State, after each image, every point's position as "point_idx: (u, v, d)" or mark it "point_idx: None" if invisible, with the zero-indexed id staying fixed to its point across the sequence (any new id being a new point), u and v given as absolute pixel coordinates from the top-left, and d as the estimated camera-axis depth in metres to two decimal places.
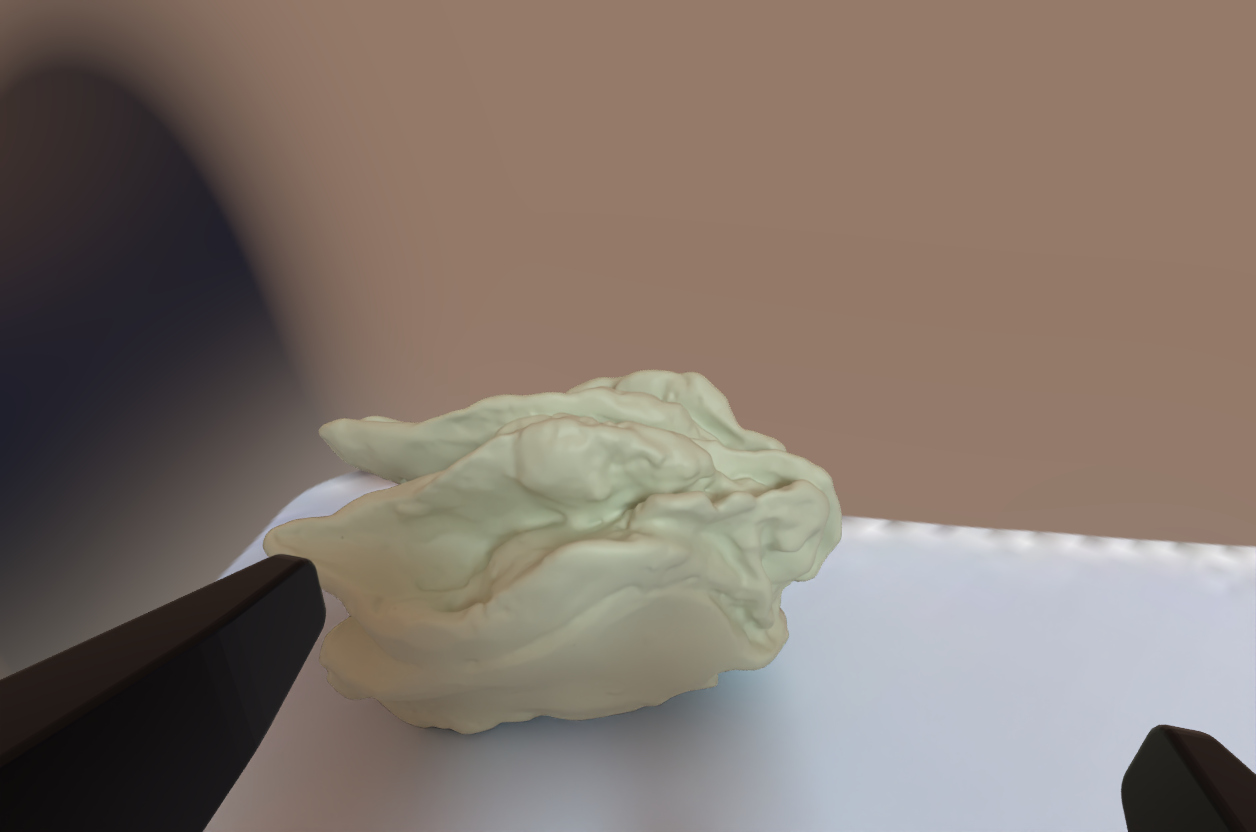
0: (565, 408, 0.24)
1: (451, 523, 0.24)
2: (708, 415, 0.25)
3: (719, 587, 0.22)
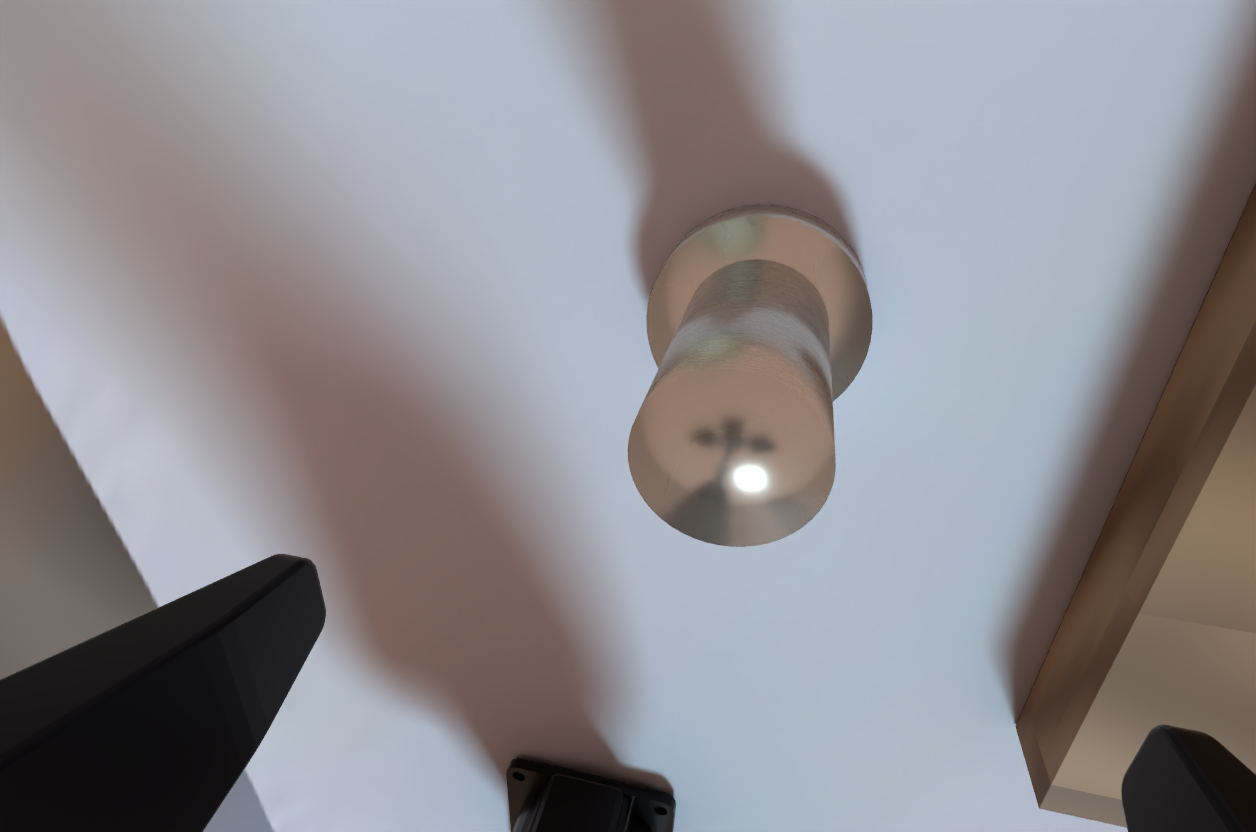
0: None
1: None
2: None
3: None
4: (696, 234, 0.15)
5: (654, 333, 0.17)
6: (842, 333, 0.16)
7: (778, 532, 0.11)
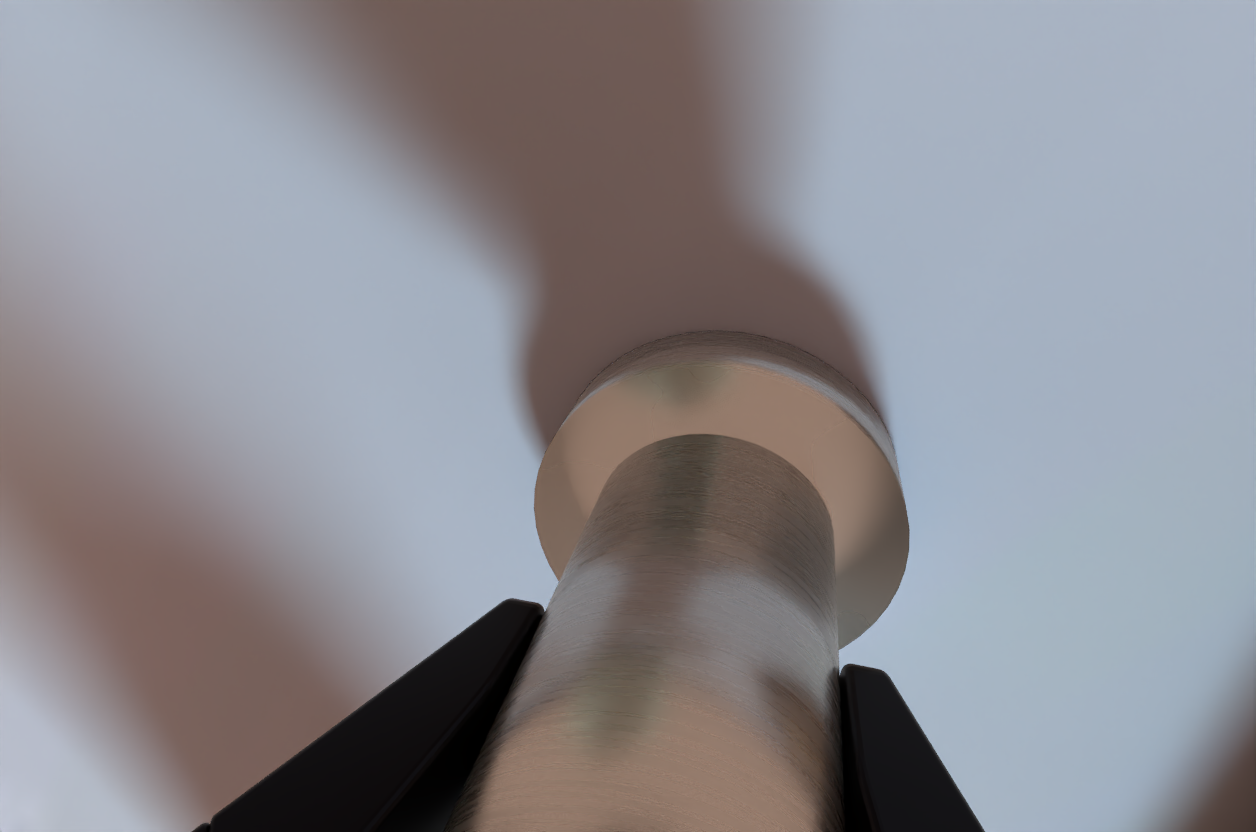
0: None
1: None
2: None
3: None
4: (606, 389, 0.09)
5: (548, 532, 0.10)
6: (857, 554, 0.09)
7: None
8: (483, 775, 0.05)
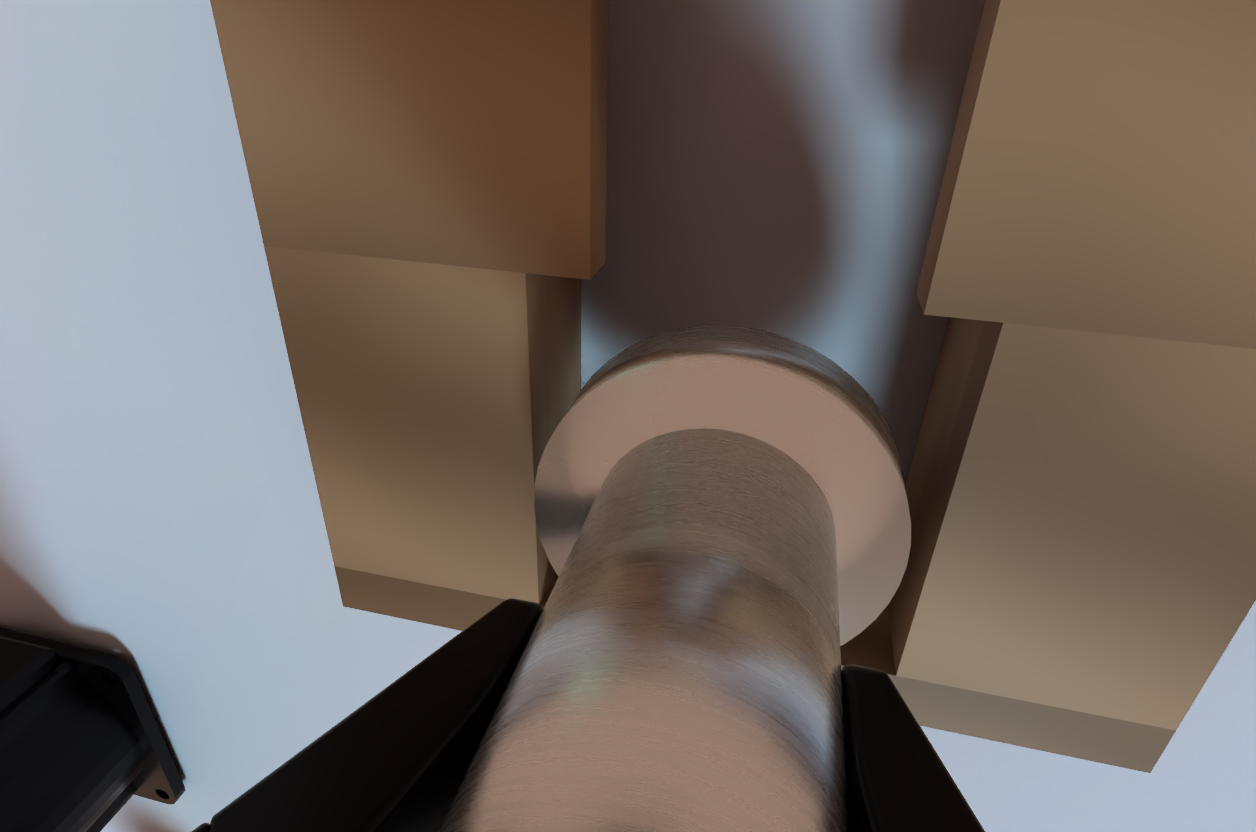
0: None
1: None
2: None
3: None
4: (606, 383, 0.09)
5: (548, 527, 0.10)
6: (858, 549, 0.09)
7: None
8: (482, 769, 0.05)
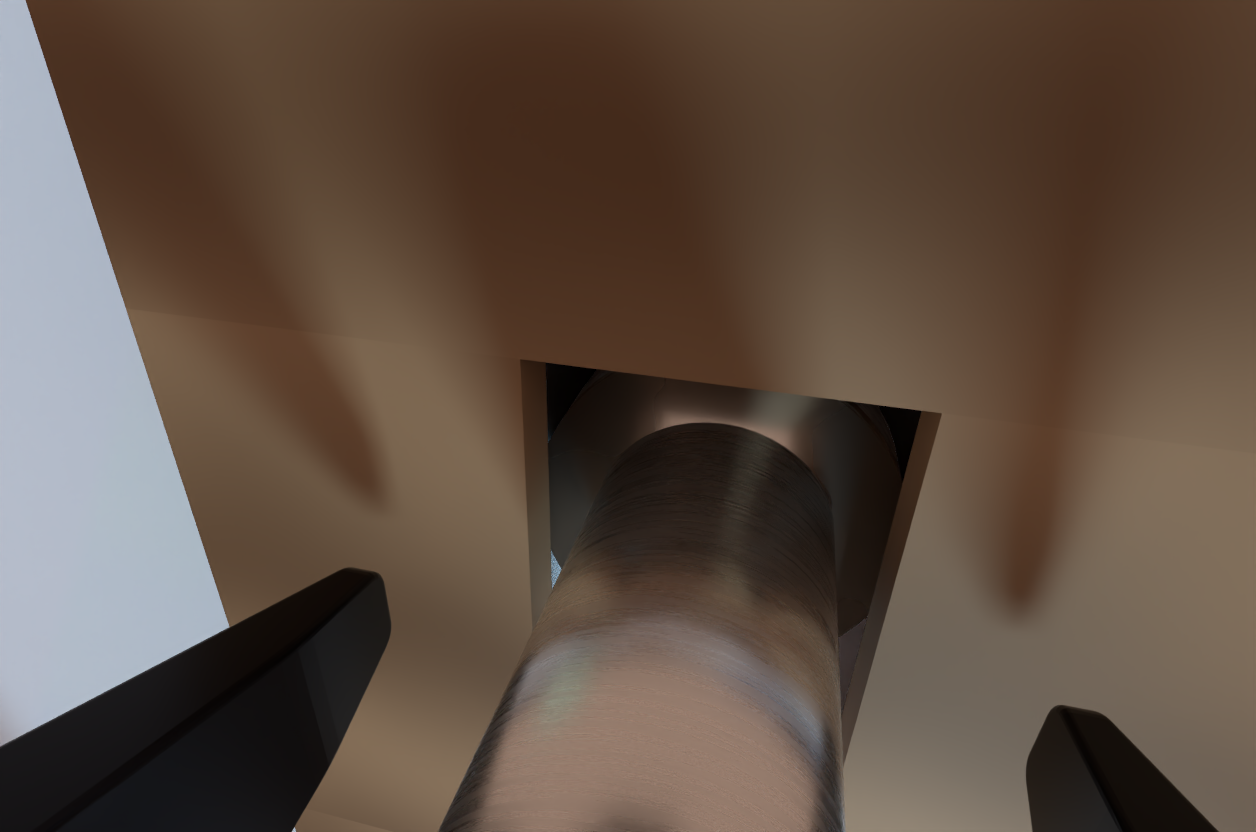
0: None
1: None
2: None
3: None
4: (609, 378, 0.09)
5: (552, 520, 0.10)
6: (856, 541, 0.09)
7: None
8: (491, 747, 0.05)
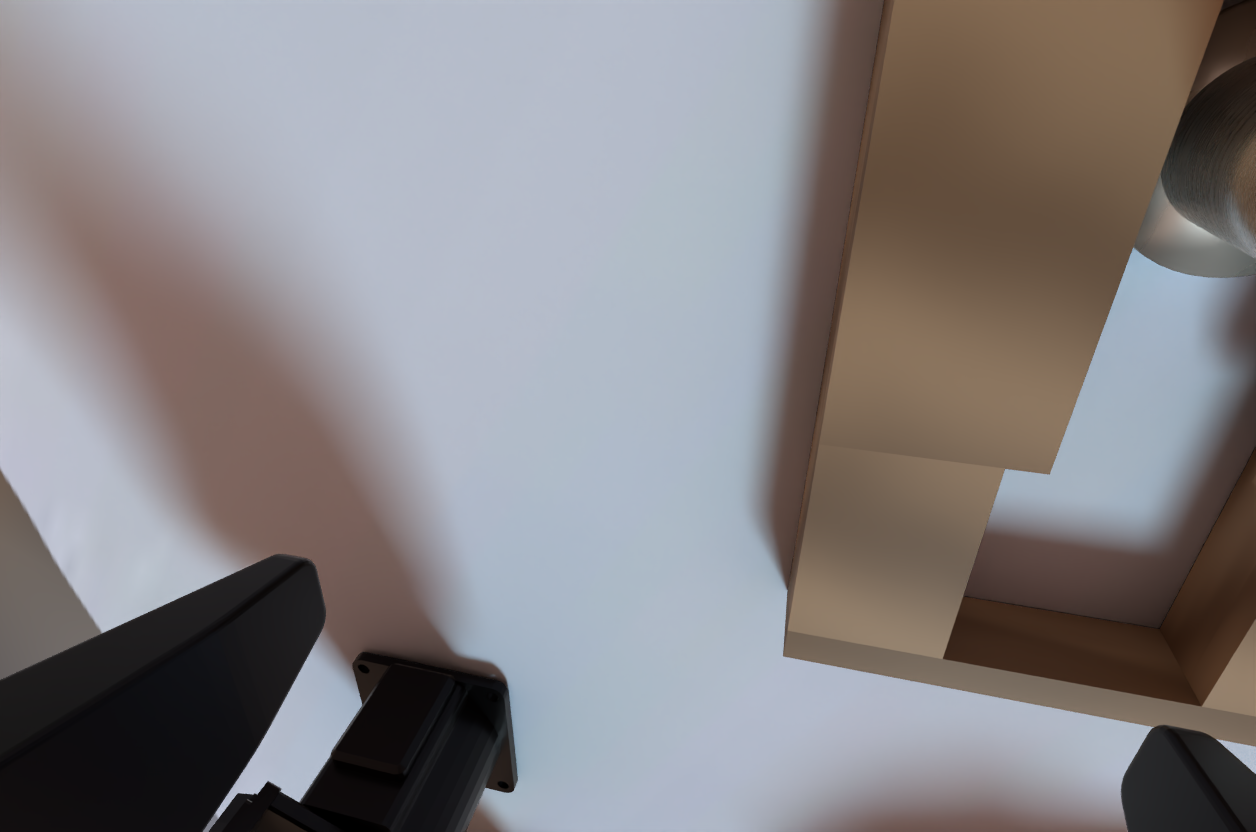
0: None
1: None
2: None
3: None
4: None
5: None
6: None
7: None
8: None
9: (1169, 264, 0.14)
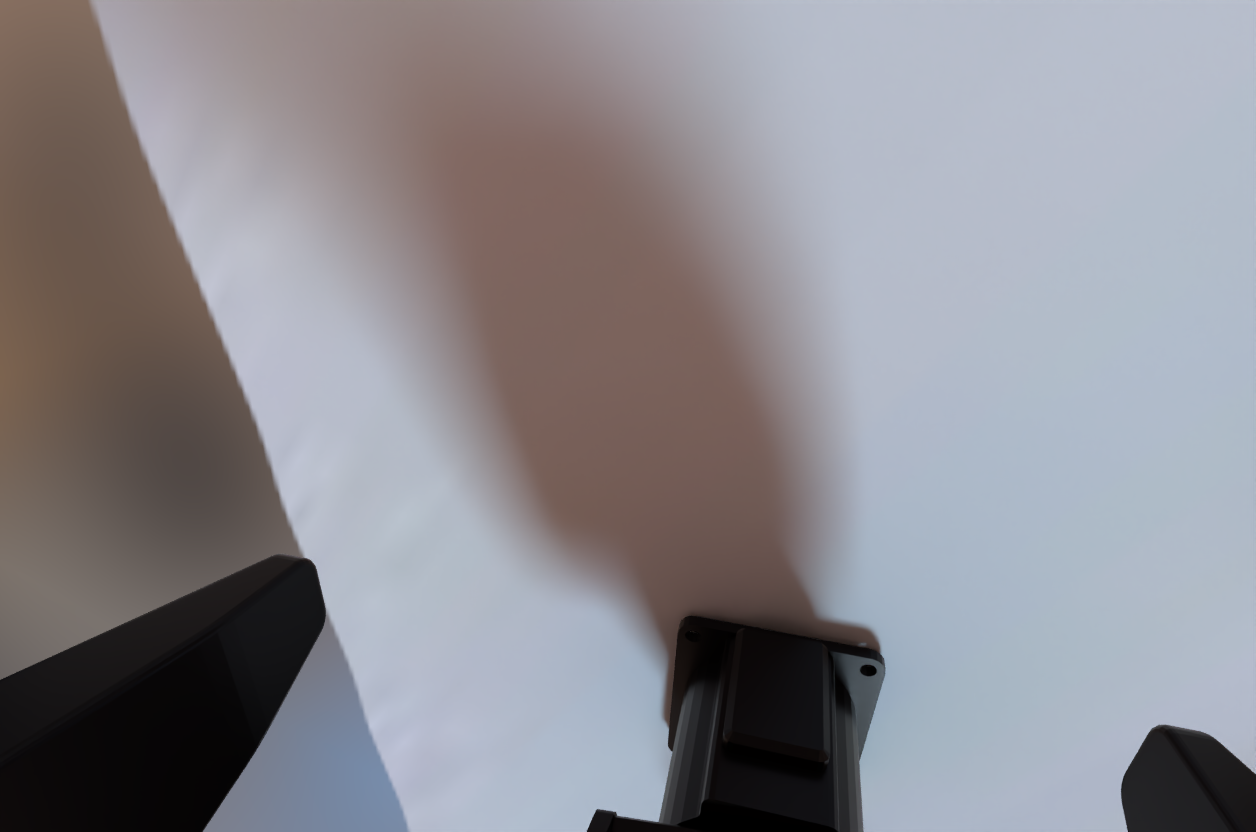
0: None
1: None
2: None
3: None
4: None
5: None
6: None
7: None
8: None
9: None
